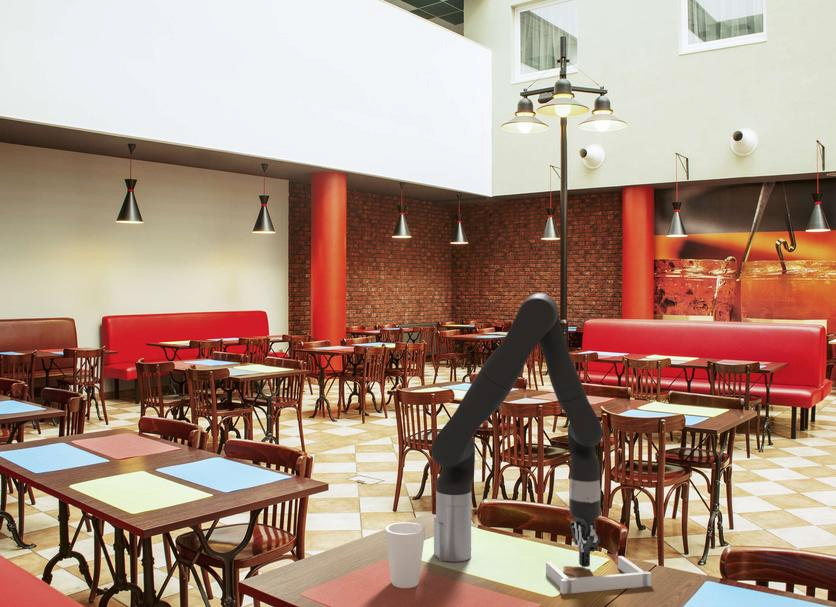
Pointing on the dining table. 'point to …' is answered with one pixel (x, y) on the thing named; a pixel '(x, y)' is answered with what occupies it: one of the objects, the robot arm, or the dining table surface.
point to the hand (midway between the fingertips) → (584, 565)
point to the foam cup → (405, 552)
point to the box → (601, 579)
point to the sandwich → (576, 572)
